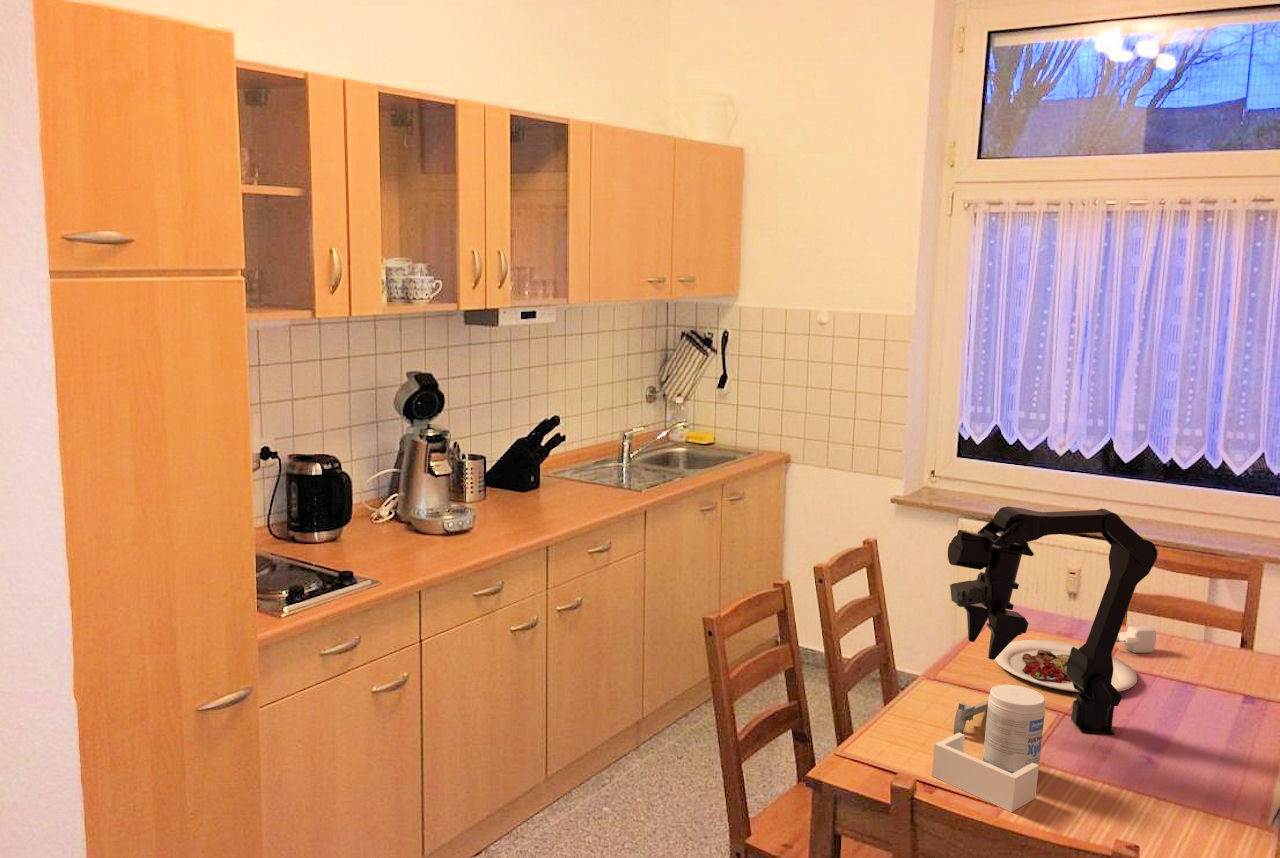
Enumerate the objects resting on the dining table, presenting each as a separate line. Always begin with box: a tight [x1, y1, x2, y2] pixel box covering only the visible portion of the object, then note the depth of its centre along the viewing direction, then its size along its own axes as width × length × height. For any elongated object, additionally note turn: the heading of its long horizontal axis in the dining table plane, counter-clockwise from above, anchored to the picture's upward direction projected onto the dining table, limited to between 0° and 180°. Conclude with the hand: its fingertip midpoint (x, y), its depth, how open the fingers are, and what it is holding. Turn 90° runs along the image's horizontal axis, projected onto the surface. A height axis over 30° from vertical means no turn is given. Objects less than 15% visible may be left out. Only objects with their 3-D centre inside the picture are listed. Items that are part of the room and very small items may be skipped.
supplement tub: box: [982, 684, 1046, 773], centre depth 189 cm, size 10×10×15 cm
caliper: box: [953, 700, 988, 735], centre depth 211 cm, size 21×1×6 cm, turn 141°
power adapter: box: [1115, 624, 1157, 654], centre depth 252 cm, size 11×5×6 cm, turn 103°
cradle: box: [931, 732, 1040, 813], centre depth 184 cm, size 8×15×6 cm, turn 41°
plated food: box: [994, 639, 1138, 693], centre depth 238 cm, size 30×30×3 cm
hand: (981, 650), depth 205 cm, fingers open, 9 cm apart
